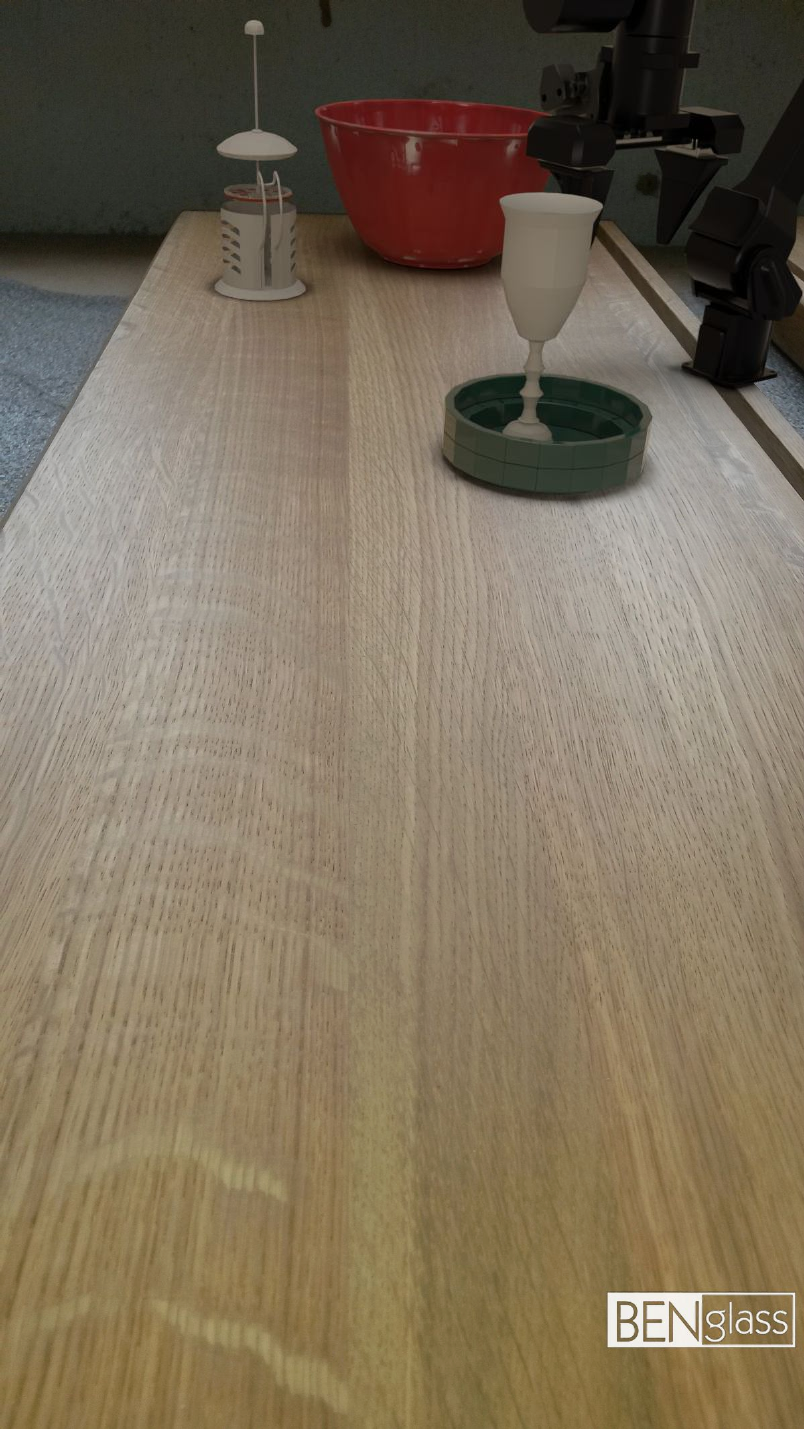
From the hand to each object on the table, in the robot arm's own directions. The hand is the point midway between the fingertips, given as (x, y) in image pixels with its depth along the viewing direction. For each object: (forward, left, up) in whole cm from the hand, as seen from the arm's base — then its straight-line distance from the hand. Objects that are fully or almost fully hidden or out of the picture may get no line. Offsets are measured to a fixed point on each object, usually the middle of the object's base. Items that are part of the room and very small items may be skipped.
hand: (622, 250), depth 100 cm
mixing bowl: (-16, -46, -12) cm, 50 cm away
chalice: (+17, +9, -12) cm, 22 cm away
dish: (+15, +9, -12) cm, 21 cm away
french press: (+10, -42, -12) cm, 45 cm away
